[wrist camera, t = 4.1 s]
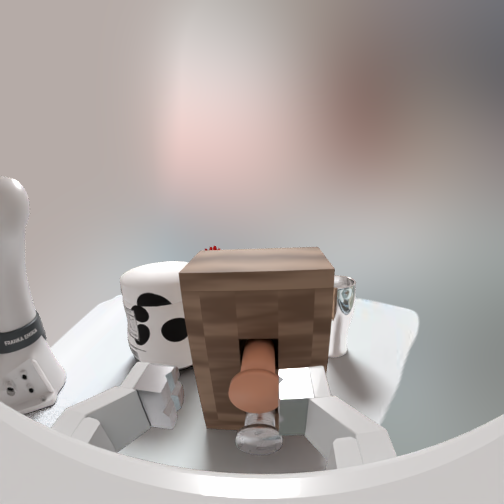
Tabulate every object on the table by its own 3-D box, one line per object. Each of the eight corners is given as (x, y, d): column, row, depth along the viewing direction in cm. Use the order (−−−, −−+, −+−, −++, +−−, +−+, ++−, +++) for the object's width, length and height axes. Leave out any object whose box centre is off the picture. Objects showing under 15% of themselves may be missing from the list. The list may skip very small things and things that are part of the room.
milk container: (221, 335, 61) (213, 259, 57) (203, 383, 45) (188, 289, 40) (152, 331, 63) (139, 260, 59) (120, 372, 46) (96, 287, 42)
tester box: (318, 427, 33) (334, 268, 27) (206, 428, 34) (178, 273, 28) (310, 385, 43) (318, 247, 37) (217, 386, 44) (200, 250, 38)
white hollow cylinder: (317, 340, 57) (320, 274, 54) (349, 341, 55) (355, 275, 52) (314, 358, 51) (318, 287, 47) (349, 359, 49) (358, 288, 45)
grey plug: (281, 454, 26) (283, 429, 25) (237, 454, 26) (233, 429, 25) (280, 408, 34) (281, 381, 33) (243, 408, 34) (240, 381, 33)
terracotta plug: (283, 412, 24) (284, 374, 23) (230, 412, 24) (226, 374, 23) (281, 364, 32) (281, 328, 31) (238, 364, 33) (235, 329, 31)
